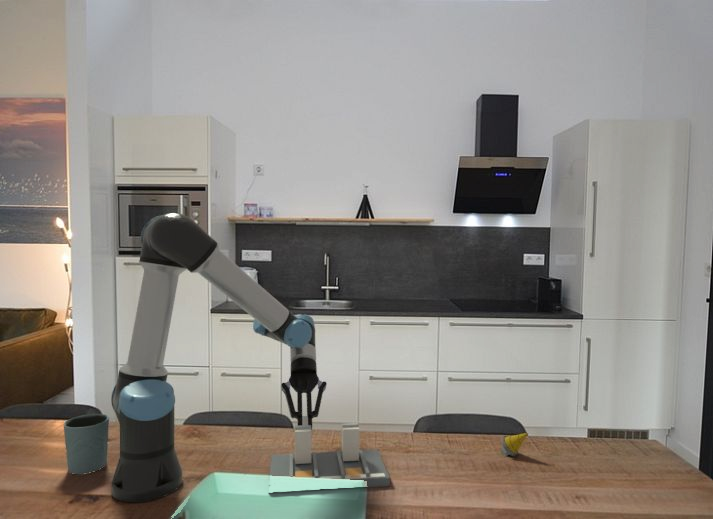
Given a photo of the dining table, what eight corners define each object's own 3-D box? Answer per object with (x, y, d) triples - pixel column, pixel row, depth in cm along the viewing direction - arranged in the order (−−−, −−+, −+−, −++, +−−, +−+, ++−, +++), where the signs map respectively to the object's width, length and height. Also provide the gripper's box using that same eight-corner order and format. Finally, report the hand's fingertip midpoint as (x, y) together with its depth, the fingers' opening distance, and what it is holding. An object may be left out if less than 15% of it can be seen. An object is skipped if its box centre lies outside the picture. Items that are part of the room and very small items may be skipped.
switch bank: (268, 493, 108) (268, 479, 108) (271, 462, 124) (271, 450, 124) (389, 486, 112) (389, 472, 112) (377, 456, 128) (377, 444, 128)
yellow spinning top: (505, 449, 135) (532, 430, 131) (509, 465, 130) (537, 446, 126) (491, 439, 133) (519, 420, 129) (495, 455, 129) (523, 435, 125)
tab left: (294, 464, 118) (294, 429, 118) (294, 457, 122) (294, 423, 122) (311, 463, 119) (311, 428, 119) (310, 456, 123) (310, 422, 122)
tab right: (343, 461, 120) (343, 427, 120) (341, 454, 124) (341, 421, 124) (359, 460, 120) (359, 426, 120) (357, 453, 124) (357, 420, 124)
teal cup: (89, 478, 115) (89, 429, 115) (53, 474, 117) (53, 425, 117) (118, 460, 125) (118, 414, 125) (84, 456, 127) (84, 411, 127)
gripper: (324, 368, 144) (329, 446, 128) (280, 370, 142) (280, 449, 126) (326, 355, 139) (331, 434, 123) (280, 356, 137) (279, 437, 121)
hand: (305, 442), depth 124 cm, fingers closed
